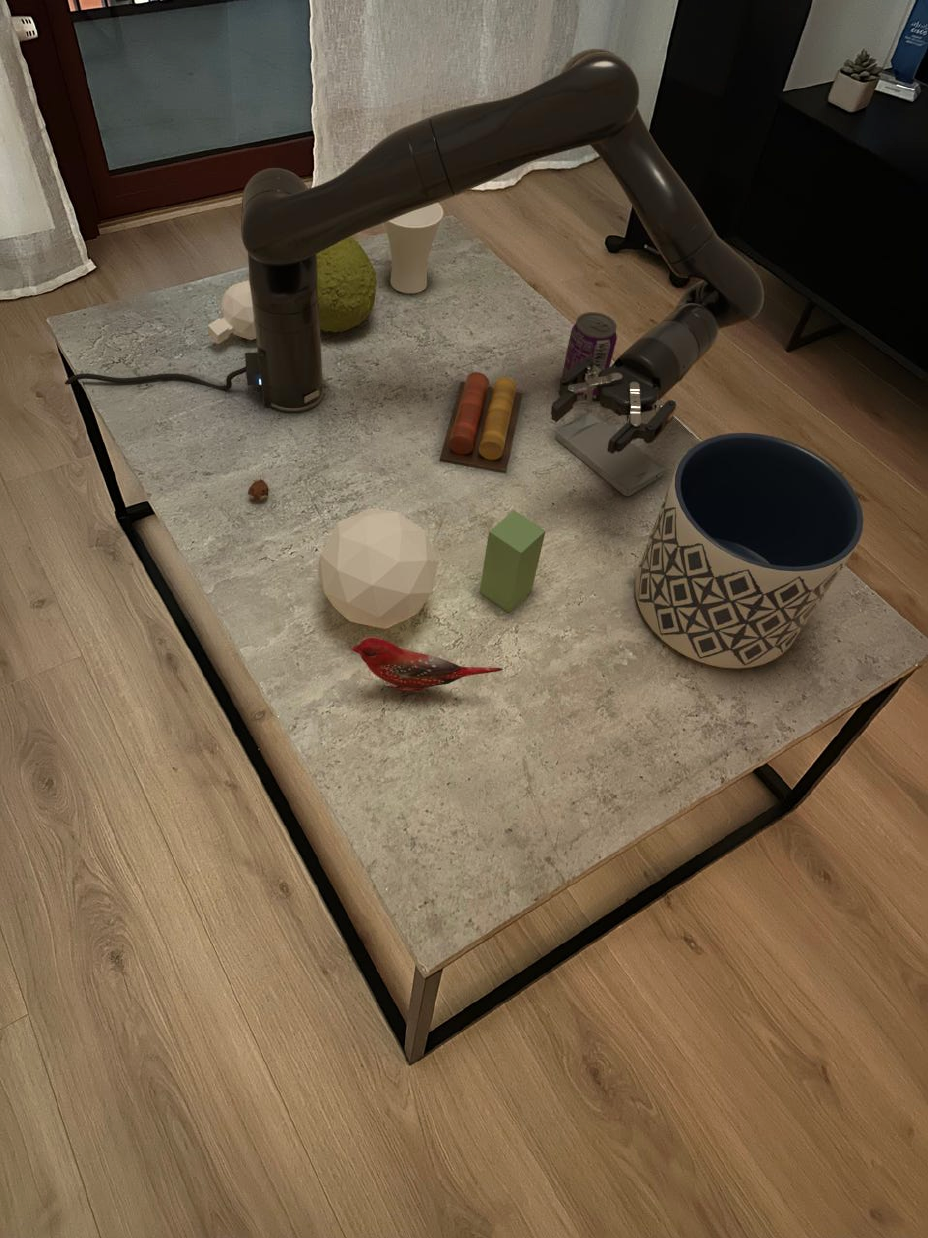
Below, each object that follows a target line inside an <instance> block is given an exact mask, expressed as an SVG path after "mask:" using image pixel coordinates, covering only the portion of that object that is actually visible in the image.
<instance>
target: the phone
mask: <svg viewBox="0 0 928 1238" xmlns="http://www.w3.org/2000/svg"><path fill="white" fill-rule="evenodd" d="M618 431H619V430H617V429H615V428H614V427H612V426H611V425H610V424H609V423H607V421H605V420H604V419H603V418H602V417H600V416H599V415H598V414H596V413H595V412H592V411H589V412H587V413H584V414H583V415H581V416H579V417H577V418H575V419H573V420H572V421H570V422H568V423H566V424H564V425H562V426H560V427H559V428H557V429H556V430H555V435H554V437H555V440H557V441H558V442H559V443H560V444H561V445H563V447H565V448H566V449H567V450H568V451H570V452H571V453H572V454H573V455H574V456H575V457H577V458H578V459H579V460H580V461H582V462H583V463H584V464H585V465H586V466H588V467H589V468H590V469H592V471H594V472H595V473H596V474H598V476H600V477H601V478H602V479H603V480H604V481H606V482H607V483H608V484H609V485H611V486H612V487H613V488H614V489H616V490H617V491H618V492H619V493H620V494H621V495H623V496H624V497H630V496H632V495H634V494H635V493H637V492H639V491H640V490H642V489H644V488H645V487H647V486H649V485H650V484H652V483H653V482H655V481H657V480H659V479H660V478H661V477H662V476H663V473H664V467H663V466H662V465H661V464H659V463H658V462H657V461H656V460H654V459H653V458H652V457H651V456H650V455H648V454H647V453H645V452H644V451H643V450H642V449H641V448H639V447H638V446H637V445H635V444H634V443H633V442H632V441H631V442H630V443H629V444H628V445H627V446H626V447H625V448H624V449H623V450H622V451H620V452H617V451H616V452H615V453H613V454H612V453H610V452H608V451H607V449H608V442H609V440H610V438H611V437H612V436H613V435H614V434H615V433H617V432H618Z"/></svg>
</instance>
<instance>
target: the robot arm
mask: <svg viewBox="0 0 928 1238" xmlns="http://www.w3.org/2000/svg"><path fill="white" fill-rule="evenodd" d="M639 101H640V86H639V81H638V78H637V76H636V74H635V72H634V70H633V69H632V67H631V66H630V64H628V63H627V62H626V61H625V60H624V59H623V58H622V57H620V56H618V55H617V54H615V53H614V52H611V51H609V50H606V49H602V48H590V49H589V48H588V49H585V50H582V51H580V52H577V53H576V54H574V55H573V56H571V57H570V58H569V59H568V60H567V61H566V62H565V64H564V66H563V67H562V69H561V70H560V73H559V74H557V75H556V76H554V77H552V78H549V79H548V80H546V81H544V82H542V83H540V84H538V85H536V86H534V87H531V88H530V89H528V90H525V91H522V92H521V93H518V94H515V95H512V96H509V97H505V98H501V99H498V100H491V101H486V102H480V103H474V104H470V105H464V106H461V107H457V108H453V109H449V110H445V111H443V112H439V113H437V114H433V115H431V116H428V117H426V118H423V119H421V120H418V121H416V122H414V123H411V124H408V125H407V126H404V127H402V128H399V129H397V130H395V131H394V132H392V133H390V134H389V135H387V136H385V137H384V138H383V139H382V140H381V141H379V142H378V143H377V144H375V145H374V146H373V147H372V148H371V149H369V150H368V151H367V152H366V153H365V154H363V155H362V156H361V157H360V158H359V159H358V160H357V161H356V162H355V163H353V164H352V165H351V166H350V167H349V168H347V169H345V171H343V172H342V173H341V174H339V175H337V176H336V177H334V178H332V179H330V180H328V181H326V182H323V183H321V184H319V185H316V186H313V187H310V188H308V186H307V185H306V183H305V181H303V179H301V178H300V177H299V176H298V175H297V174H295V173H294V172H292V171H290V170H288V169H284V168H280V167H271V168H269V167H268V168H265V169H262V170H260V171H258V172H257V173H255V174H254V175H253V176H252V177H251V178H250V179H249V180H248V182H247V184H246V185H245V187H244V189H243V193H242V197H241V198H242V199H241V215H240V216H241V217H240V235H241V240H242V244H243V247H244V249H245V251H246V252H247V261H248V280H249V283H250V291H251V297H252V306H253V315H254V323H255V332H256V339H255V340H256V350H257V351H256V352H245V353H244V361H245V366H244V367H241V368H238V369H236V370H234V371H232V372H230V373H229V374H228V375H227V376H226V378H225V383H226V384H223V385H218V384H213V383H210V382H208V381H205V380H203V379H201V378H198V377H195V376H192V375H189V374H184V373H158V374H151V375H144V376H135V377H116V376H115V377H114V376H108V375H102V374H97V373H96V374H95V373H78V374H74V375H71V376H70V377H69V378H67V379H66V380H65V382H64V385H67V386H68V385H69V386H70V385H71V384H73V383H74V382H76V381H79V380H95V381H101V382H107V383H112V384H113V383H114V384H136V383H145V382H151V381H159V380H173V379H174V380H183V381H189V382H192V383H194V384H197V385H201V386H205V387H209V388H212V389H215V390H219V391H221V392H222V391H223V392H224V391H229V390H230V389H231V388H233V387H232V385H233V383H232V380H233V379H235V377H237V376H240V375H243V374H245V376H246V383H247V386H260V387H261V395H262V402H263V404H262V405H263V407H264V408H273V410H274V409H275V410H277V411H280V412H283V413H284V412H285V413H301V412H305V411H309V410H312V409H313V408H315V407H316V406H318V405H319V404H320V403H321V401H322V400H323V398H324V395H325V388H324V379H323V362H322V361H323V360H322V358H323V357H322V341H321V340H322V339H321V329H320V318H319V299H318V273H317V253H319V252H321V251H323V250H325V249H327V248H329V247H331V246H333V245H335V244H336V243H338V242H340V241H342V240H344V239H346V238H348V237H350V236H351V237H353V236H354V235H356V234H358V233H361V232H364V231H366V230H369V229H372V228H374V227H377V226H380V225H382V224H384V222H387V221H389V220H392V219H394V218H397V217H399V216H402V215H404V214H407V213H409V212H412V211H414V210H417V209H420V208H423V207H427V206H430V205H432V204H435V203H438V204H439V203H440V202H443V201H446V200H449V199H450V198H453V197H455V196H458V195H460V194H463V193H466V192H468V191H470V190H472V189H474V188H477V187H479V186H482V185H484V184H486V183H489V182H490V181H493V180H495V179H497V178H500V177H502V176H504V175H506V174H507V173H510V172H512V171H514V170H516V169H517V168H520V167H522V166H524V165H526V164H528V163H531V162H534V161H536V160H539V159H543V158H546V157H549V156H552V155H553V156H554V155H557V154H561V153H564V152H567V151H571V150H575V149H579V148H583V147H587V146H590V147H591V148H592V149H593V150H594V151H595V152H596V153H597V155H598V156H599V157H600V158H601V160H602V161H603V163H604V164H605V165H606V167H607V168H608V169H609V171H610V172H611V173H612V175H613V176H614V178H615V180H616V181H617V182H618V184H619V186H620V187H621V189H622V191H623V192H624V194H625V196H626V198H627V199H628V201H629V203H630V205H631V206H632V208H633V209H634V211H635V214H636V215H637V217H638V219H639V220H640V222H641V224H642V226H643V228H644V229H645V231H646V232H647V234H648V236H649V238H650V239H651V241H652V243H653V244H654V246H655V247H656V249H657V250H658V252H659V253H660V255H661V257H662V258H663V260H664V262H666V264H667V265H668V268H669V269H670V270H671V272H673V273H674V275H675V276H677V277H679V278H682V279H683V278H684V279H691V278H693V279H694V278H696V279H700V280H699V281H697V282H696V283H694V284H692V285H691V286H689V288H688V289H687V290H686V291H685V292H684V293H683V295H682V296H681V298H680V299H679V301H678V303H677V304H676V306H675V308H674V310H673V311H672V312H671V313H670V314H669V315H667V316H666V317H665V318H664V319H662V321H661V322H660V323H658V324H657V325H655V326H654V327H652V328H651V329H649V330H648V331H646V332H645V333H644V334H643V335H642V336H641V337H640V338H638V339H637V340H636V341H635V342H634V343H633V344H632V345H631V346H630V347H628V348H627V349H626V350H625V351H623V352H622V354H620V355H619V357H617V358H616V359H615V361H614V362H613V363H612V365H610V367H609V368H606V369H603V370H601V369H599V368H598V367H596V366H594V365H593V362H594V360H593V359H592V358H590V357H587V358H585V359H584V360H582V361H581V362H580V363H578V364H577V365H576V366H574V367H573V368H572V369H571V370H569V371H568V372H567V373H565V374H564V375H563V376H562V375H561V376H560V377H559V382H558V383H559V386H558V395H559V397H558V398H556V399H555V400H554V401H552V404H551V409H550V415H551V418H550V419H551V420H552V421H553V422H555V423H558V422H559V421H560V420H561V419H562V418H564V416H566V415H567V414H568V413H569V412H570V411H571V410H572V409H574V406H580V405H586V406H587V407H590V406H591V407H592V406H598V405H599V406H601V407H602V408H604V409H606V410H607V409H608V410H610V411H612V412H613V413H614V414H615V415H617V416H618V417H621V416H626V423H625V424H623V426H622V427H620V429H618V430H617V431H618V432H617V433H615V434H614V435H613V436H612V437H611V438H610V440H609V442H608V449H607V451H608V452H610V453H612V454H613V453H615V452H616V451H617V452H620V451H622V450H623V449H624V448H625V447H626V446H627V445H628V444H629V443H630V442H631V443H632V442H633V441H636V440H637V439H639V440H643V442H644V443H645V444H647V445H651V444H652V443H654V442H655V441H656V439H657V438H658V437H659V436H660V434H662V432H663V431H664V430H666V428H667V427H668V426H669V424H670V423H671V422H672V421H673V419H674V415H675V411H676V406H677V402H676V401H675V400H672V399H669V400H667V401H666V402H665V401H662V400H661V399H662V398H663V397H664V396H665V395H666V394H667V393H668V392H670V390H671V389H672V388H673V387H674V386H676V385H677V384H678V383H679V382H681V381H683V379H684V377H685V376H687V374H688V373H689V372H690V370H691V369H692V368H693V366H694V365H695V364H696V363H697V362H698V361H699V360H701V358H702V357H703V356H704V355H705V354H706V353H708V351H709V350H710V349H711V348H712V347H713V346H714V345H715V343H716V341H717V339H718V335H719V330H721V329H724V328H728V327H732V326H734V325H735V326H736V325H740V324H742V323H746V322H748V321H750V320H753V319H755V317H757V316H758V315H759V314H760V312H761V310H762V309H763V306H764V301H765V290H764V286H763V283H762V281H761V278H760V276H759V275H758V273H757V272H756V271H755V269H754V268H753V266H751V264H749V262H747V261H746V259H744V258H743V257H742V256H741V255H740V254H739V253H738V252H736V251H735V250H734V248H732V247H731V246H730V245H729V244H728V243H727V242H725V241H724V240H723V239H721V238H720V236H718V234H717V232H716V231H715V229H714V228H713V226H712V224H711V222H710V220H709V219H708V217H707V216H706V214H705V212H704V211H703V208H702V207H701V205H700V204H699V203H698V200H697V199H696V198H695V197H694V195H693V193H692V192H691V191H690V189H689V188H688V187H687V185H686V183H685V182H684V181H683V180H682V178H681V177H680V175H679V173H677V172H676V170H675V169H674V168H673V166H672V165H671V163H670V161H668V159H667V158H666V157H665V155H664V153H663V152H662V151H661V149H660V148H659V146H658V144H657V143H656V141H655V140H654V138H653V136H652V134H651V132H650V131H649V129H648V126H647V125H646V124H645V121H644V119H643V117H642V114H641V112H640V109H639V108H638V106H639ZM595 388H597V395H593V391H594V389H595ZM582 392H584V394H582V395H577V393H582ZM652 411H654V414H653V416H652V417H651V419H650V420H649V421H647V423H644V422H642V417H641V414H642V413H649V412H652Z"/></svg>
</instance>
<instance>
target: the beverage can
mask: <svg viewBox="0 0 928 1238" xmlns="http://www.w3.org/2000/svg"><path fill="white" fill-rule="evenodd" d="M617 327H618V326H617V324H616V321H615V320H614V319H613V318H612V317H610V316H609V315H607V314H605V313H602V312H596V311H587V312H583V313H582V314H580V315H579V316H577V318H576V322H575V324H573V325H572V328H571V330H570V335H569V339H568V343H567V349H566V353H565V358H564V363H563V367H562V368H563V369H562V373H561V376H563V375H564V374H565V373H567V372H568V371H569V370H571V369H572V368H573V367H574V366H576V365H577V364H578V363H580V362H581V361H582V360H584V359H585V358H587V357H590V358H592V359H593V360H594V362H593V365H594V366H596V367H598V368H599V369H601V370H603V369H606V368H609V367H611V363H612V359H613V357H614V356H613V355H614V353H615V348H616V344H617V339H618V334H617ZM582 394H584V392H582V393H577V395H582ZM593 395H597V388H595V389H594V391H593Z"/></svg>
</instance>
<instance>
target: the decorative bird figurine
mask: <svg viewBox="0 0 928 1238" xmlns="http://www.w3.org/2000/svg"><path fill="white" fill-rule="evenodd" d="M350 651H352V652H355V653H357V654H359V656H360V658H361V660H362V661H363V662H364V663H365V664H366V666H367V667H368V669H369V671H371V673H373V674H374V675H375V676H376V677H378V678H379V679H381V680H382V681H384V682H387V683H389V684H392V685H395V686H392V685H386V686H385V688H388V689H389V688H390V689H395V690H398V691H399V692H415V691H416V692H421V691H427V692H429V689H427V688H432V687H437V686H445V685H449V684H452V683H454V682H455V681H458V680H460V679H462V678H465V677H470V676H475V675H484V674H490V673H497V672H500V671H501V672H502V670H504V669H503V668H501V667H495V666H494V667H492V666H491V667H489V666H488V667H487V666H486V667H483V666H478V667H477V666H461V665H458V664H456V663H454V662H451V661H448V660H446V659H444V658H440V657H436V656H433V655H431V654H426V653H422V652H418V651H414V650H409V649H406V648H403V647H400V646H398V645H396V644H394V643H392V642H390V641H388V640H386V639H381V638H378V637H367V638H365V639H363V640H361V641H360V642H359V644H357V645H356V646H354V647H352V648H351V649H350Z"/></svg>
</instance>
